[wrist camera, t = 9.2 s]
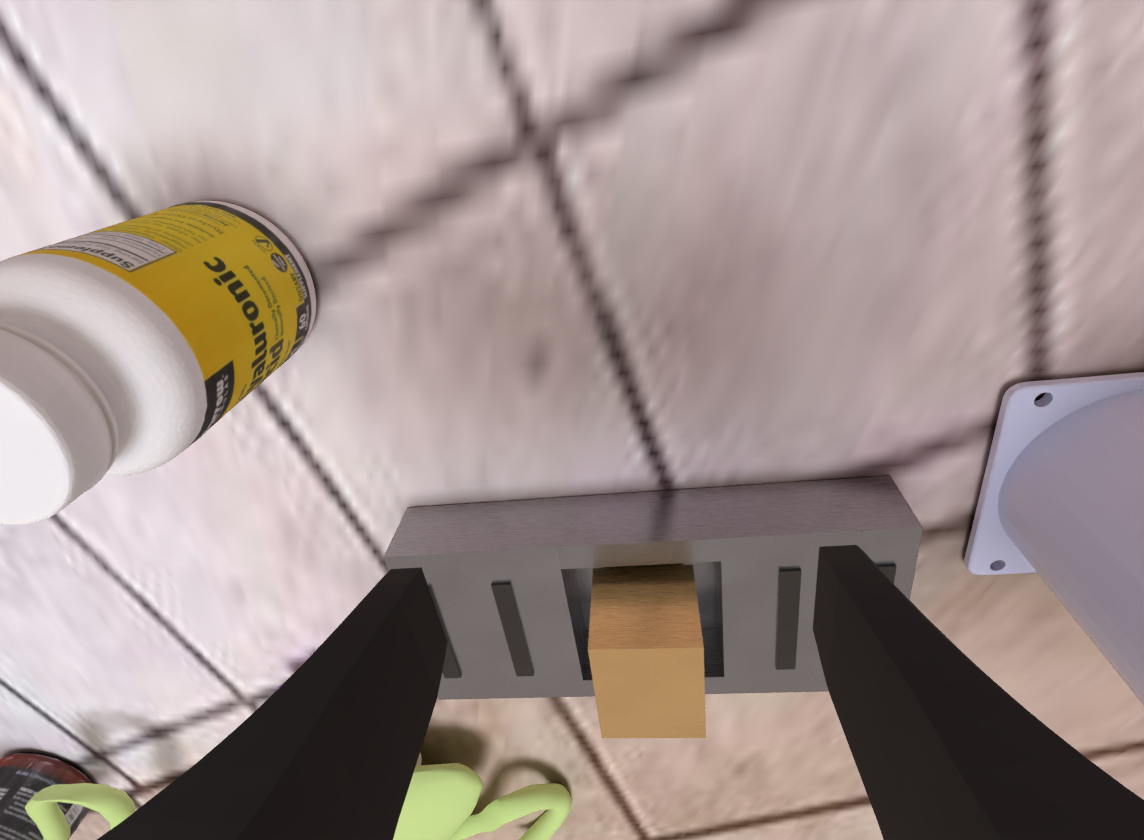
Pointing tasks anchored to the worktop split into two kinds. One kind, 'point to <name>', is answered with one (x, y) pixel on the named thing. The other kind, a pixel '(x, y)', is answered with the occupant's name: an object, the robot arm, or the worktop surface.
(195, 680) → the worktop surface
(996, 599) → the worktop surface
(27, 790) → the supplement bottle
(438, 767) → the figurine
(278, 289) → the supplement bottle
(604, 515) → the grey slotted block
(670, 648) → the wooden stepped block
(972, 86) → the worktop surface
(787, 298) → the worktop surface
